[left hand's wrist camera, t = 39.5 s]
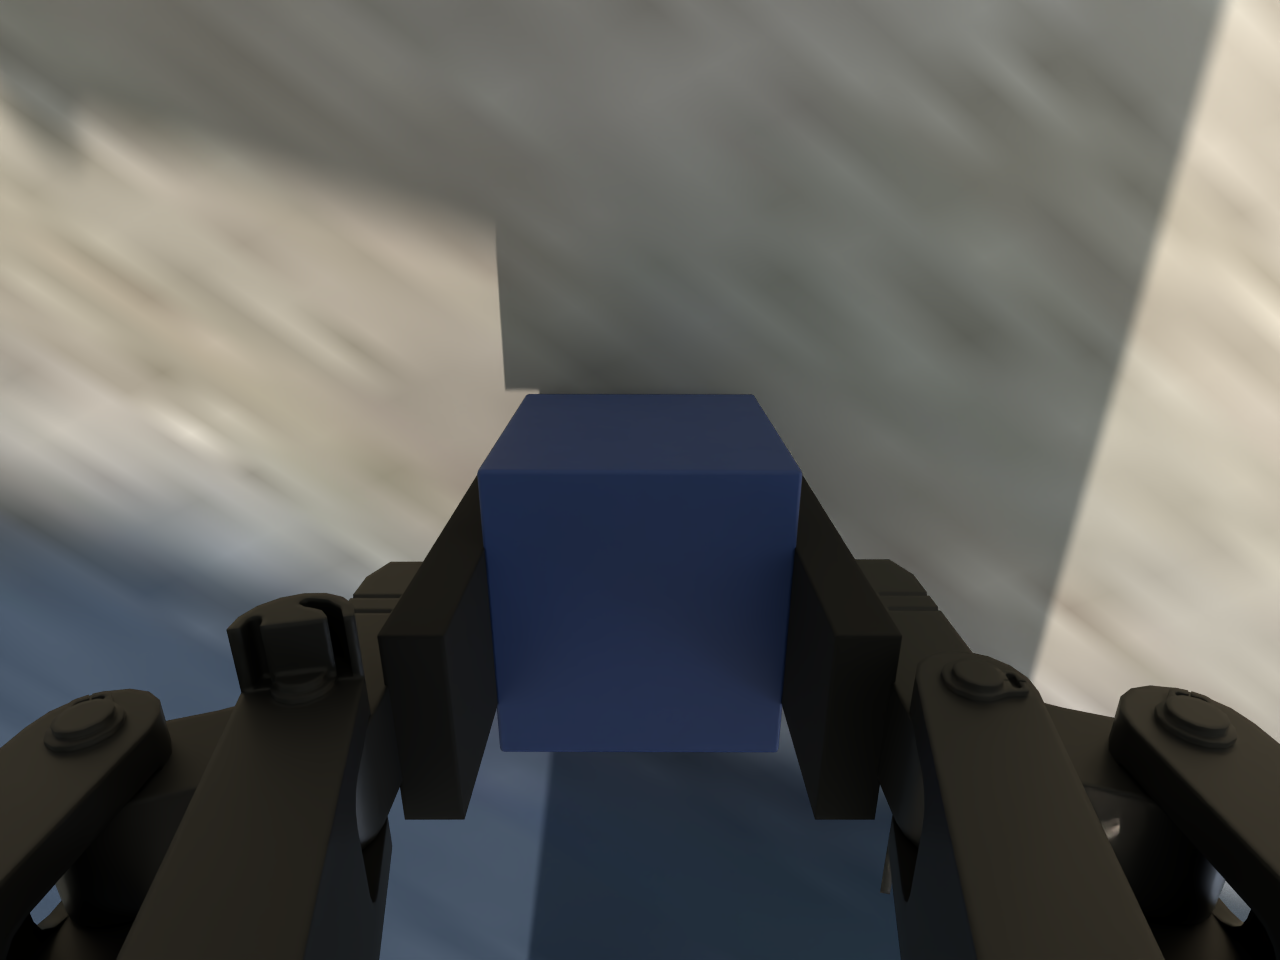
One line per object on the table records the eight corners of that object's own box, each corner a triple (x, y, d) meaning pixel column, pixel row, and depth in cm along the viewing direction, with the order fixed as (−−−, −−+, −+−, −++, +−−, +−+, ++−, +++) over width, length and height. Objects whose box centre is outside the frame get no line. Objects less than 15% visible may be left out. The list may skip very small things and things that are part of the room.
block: (754, 393, 14) (803, 471, 10) (741, 608, 16) (779, 754, 11) (525, 393, 14) (476, 470, 10) (537, 608, 16) (499, 753, 11)
